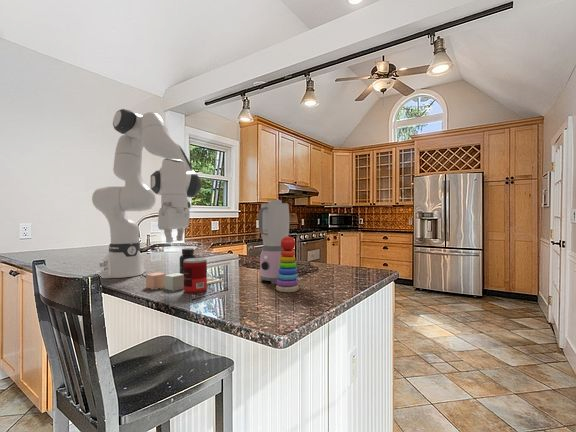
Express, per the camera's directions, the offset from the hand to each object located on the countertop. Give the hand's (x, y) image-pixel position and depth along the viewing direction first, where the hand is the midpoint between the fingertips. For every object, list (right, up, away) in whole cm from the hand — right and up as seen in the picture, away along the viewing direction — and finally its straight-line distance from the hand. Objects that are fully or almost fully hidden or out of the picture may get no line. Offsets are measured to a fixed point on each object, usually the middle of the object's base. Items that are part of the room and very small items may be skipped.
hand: (174, 241), depth 113 cm
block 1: (-7, -17, +2) cm, 19 cm away
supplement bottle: (-2, -17, +20) cm, 26 cm away
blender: (+35, -17, +11) cm, 40 cm away
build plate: (+8, -17, +10) cm, 21 cm away
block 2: (0, -17, 0) cm, 17 cm away
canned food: (+8, -17, -4) cm, 19 cm away
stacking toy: (+41, -17, -4) cm, 44 cm away
